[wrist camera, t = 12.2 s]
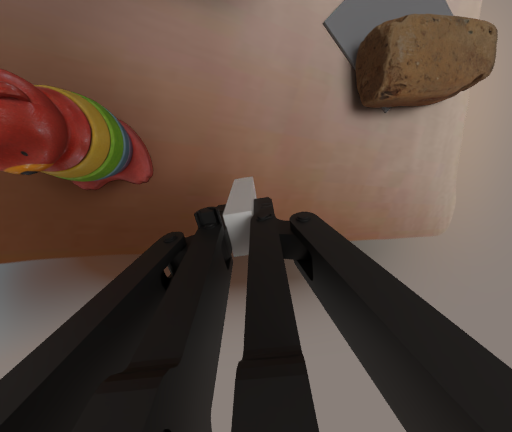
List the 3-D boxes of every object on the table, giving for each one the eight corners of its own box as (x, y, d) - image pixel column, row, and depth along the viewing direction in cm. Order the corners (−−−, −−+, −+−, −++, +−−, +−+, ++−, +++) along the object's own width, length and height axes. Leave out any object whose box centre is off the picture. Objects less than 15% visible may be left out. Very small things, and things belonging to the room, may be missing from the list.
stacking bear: (78, 191, 29) (-126, 203, 12) (56, 118, 27) (-224, 4, 10) (156, 181, 31) (77, 179, 14) (140, 112, 29) (26, 5, 12)
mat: (322, 23, 32) (324, 21, 31) (407, -66, 32) (410, -69, 31) (384, 113, 36) (386, 112, 36) (458, 33, 36) (461, 32, 36)
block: (390, 2, 25) (505, 12, 29) (350, 44, 32) (447, 47, 36) (390, 95, 27) (499, 92, 31) (352, 114, 34) (444, 110, 38)
